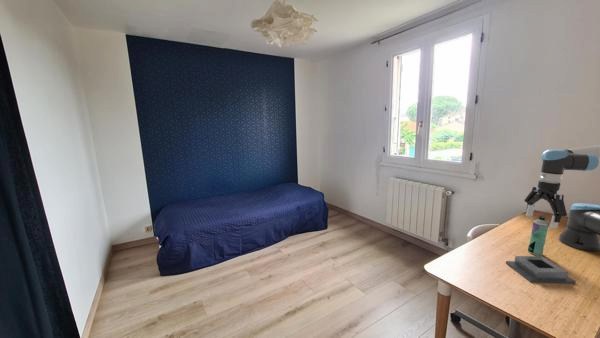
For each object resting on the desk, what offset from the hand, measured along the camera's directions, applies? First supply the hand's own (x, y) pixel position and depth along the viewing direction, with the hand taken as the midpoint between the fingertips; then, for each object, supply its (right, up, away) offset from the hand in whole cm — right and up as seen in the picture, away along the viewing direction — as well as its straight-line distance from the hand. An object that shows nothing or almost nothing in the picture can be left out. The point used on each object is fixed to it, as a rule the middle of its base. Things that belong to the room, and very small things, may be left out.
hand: (540, 221), depth 123 cm
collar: (-13, -20, -12) cm, 27 cm away
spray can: (+1, -17, +4) cm, 17 cm away
